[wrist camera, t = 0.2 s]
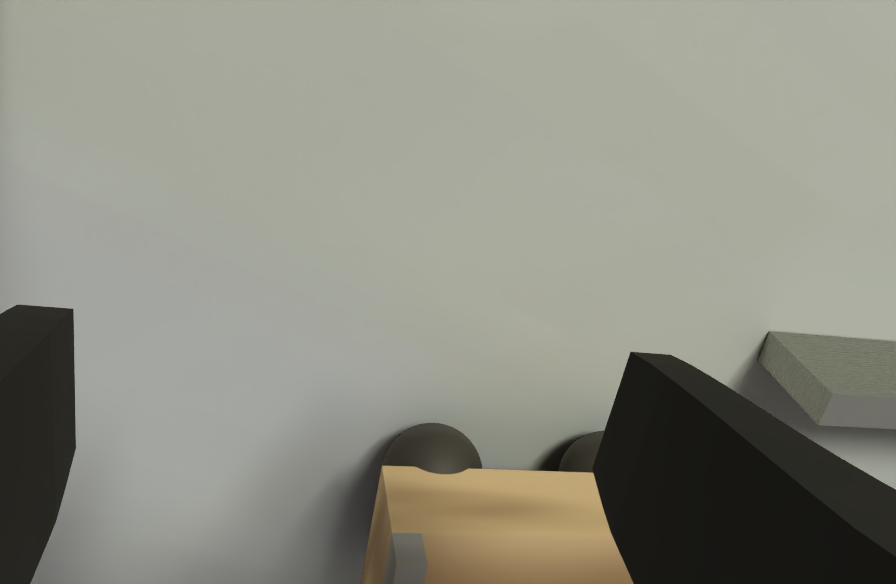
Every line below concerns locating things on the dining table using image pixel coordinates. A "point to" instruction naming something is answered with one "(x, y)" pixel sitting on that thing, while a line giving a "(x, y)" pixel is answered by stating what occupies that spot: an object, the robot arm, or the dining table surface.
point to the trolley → (487, 517)
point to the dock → (836, 377)
